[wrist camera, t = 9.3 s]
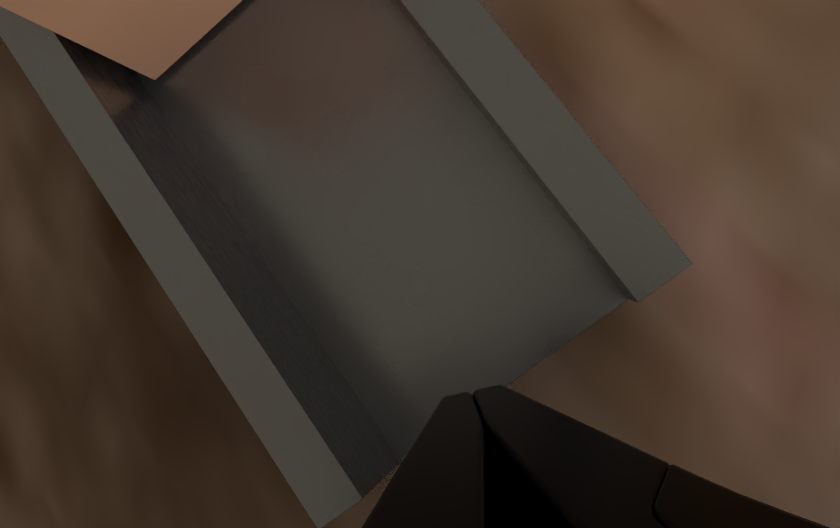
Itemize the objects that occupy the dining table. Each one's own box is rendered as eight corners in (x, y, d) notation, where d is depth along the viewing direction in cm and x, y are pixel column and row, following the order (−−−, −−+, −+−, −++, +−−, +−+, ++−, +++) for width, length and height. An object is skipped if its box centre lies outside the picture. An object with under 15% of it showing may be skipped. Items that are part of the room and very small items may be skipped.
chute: (666, 268, 16) (692, 264, 12) (376, 476, 18) (318, 530, 14) (228, -276, 20) (140, -415, 16) (16, -61, 21) (-112, -138, 17)
